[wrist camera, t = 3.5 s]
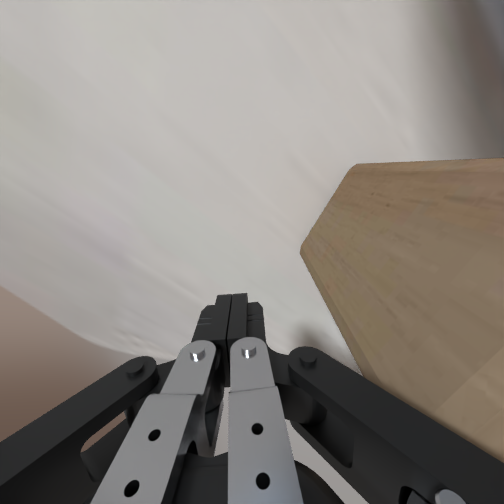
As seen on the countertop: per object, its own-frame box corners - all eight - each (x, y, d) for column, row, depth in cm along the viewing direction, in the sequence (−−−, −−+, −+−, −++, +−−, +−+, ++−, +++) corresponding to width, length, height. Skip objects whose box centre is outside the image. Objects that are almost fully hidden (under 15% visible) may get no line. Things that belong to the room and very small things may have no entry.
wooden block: (437, 211, 24) (1135, 379, 5) (373, 293, 27) (659, 596, 8) (351, 159, 22) (866, 113, 4) (294, 251, 25) (408, 497, 6)
